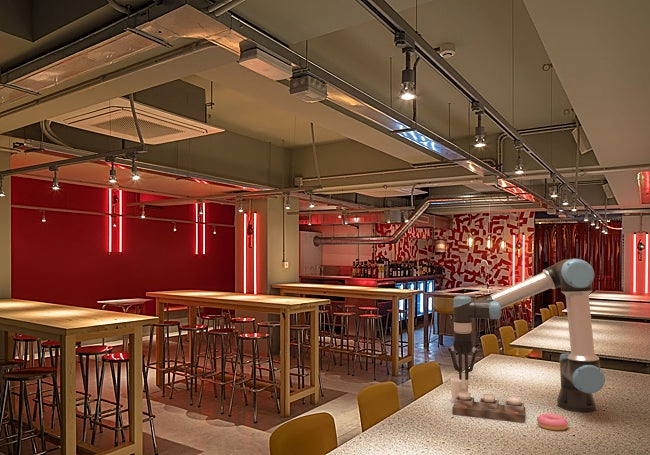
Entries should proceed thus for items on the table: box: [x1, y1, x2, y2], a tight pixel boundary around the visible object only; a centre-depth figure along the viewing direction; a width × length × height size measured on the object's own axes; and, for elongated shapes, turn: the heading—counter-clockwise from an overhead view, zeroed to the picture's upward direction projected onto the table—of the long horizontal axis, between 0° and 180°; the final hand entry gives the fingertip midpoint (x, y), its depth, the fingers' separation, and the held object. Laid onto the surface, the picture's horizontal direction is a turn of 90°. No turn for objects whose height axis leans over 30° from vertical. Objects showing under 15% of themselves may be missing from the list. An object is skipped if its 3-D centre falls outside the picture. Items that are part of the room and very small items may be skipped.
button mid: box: [482, 393, 496, 402], centre depth 205 cm, size 5×5×2 cm
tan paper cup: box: [450, 376, 469, 403], centre depth 222 cm, size 8×8×10 cm
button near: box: [507, 396, 522, 405], centre depth 200 cm, size 5×5×2 cm
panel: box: [451, 396, 527, 424], centre depth 203 cm, size 28×12×5 cm, turn 66°
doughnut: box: [536, 413, 569, 431], centre depth 188 cm, size 11×11×4 cm
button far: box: [458, 391, 472, 400], centre depth 209 cm, size 5×5×2 cm
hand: (464, 387), depth 209 cm, fingers closed
